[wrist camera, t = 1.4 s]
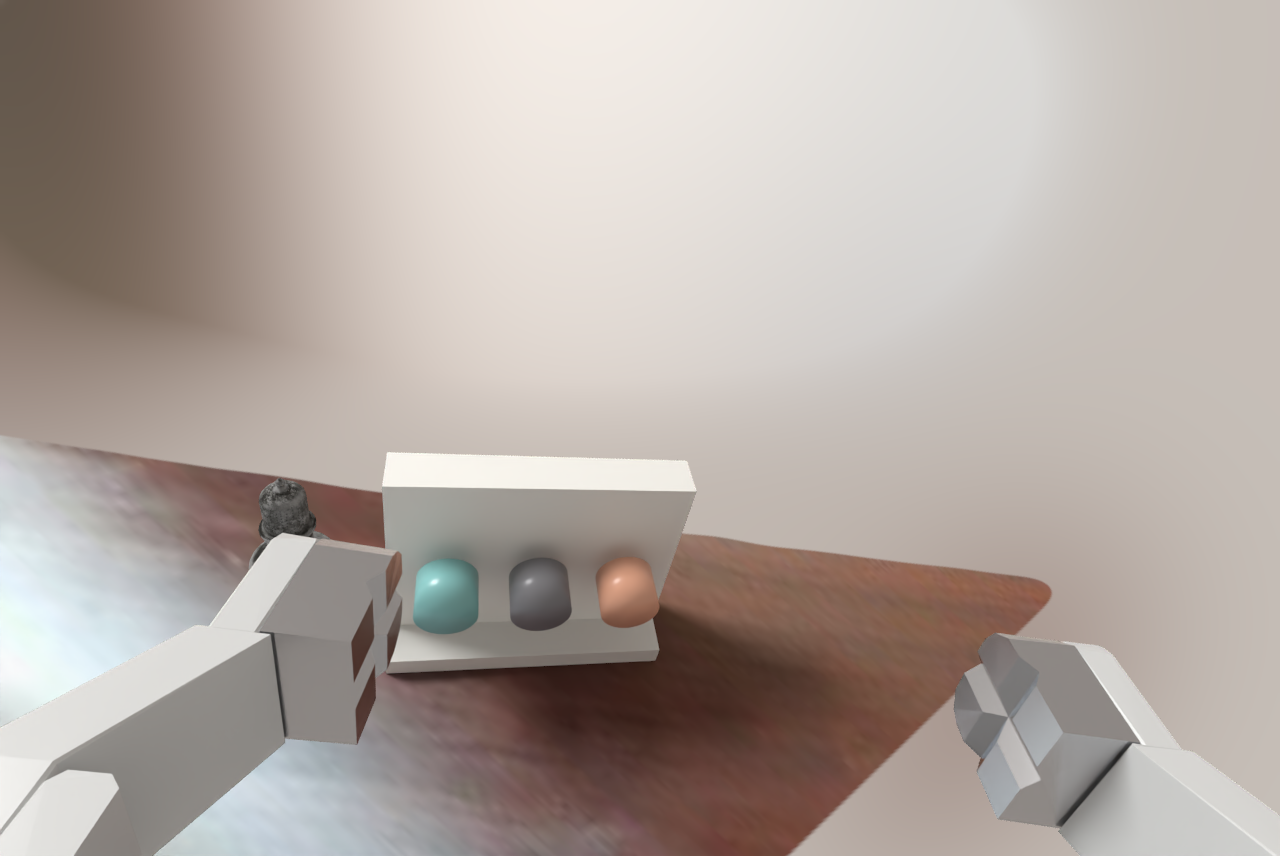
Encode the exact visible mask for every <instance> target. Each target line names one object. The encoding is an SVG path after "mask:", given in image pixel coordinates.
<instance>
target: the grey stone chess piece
mask: <svg viewBox="0 0 1280 856" xmlns="http://www.w3.org/2000/svg"><path fill="white" fill-rule="evenodd" d="M259 505H260V509H261V514H262V518H263V519H262V521H261V523H260V525H259V533H260V536H261V537H262V539H263V540H265V542H263V543H262V544H261V545H260V546H259V547H258V548H257V549H256V550H255V551H254V553H253V555H252V557H251V559H250V564H249V570H250V569H251V567H252V566H253V565H254V563H255V562H256V560H257V559H258V558H259V556H260V555H261V554H262V552H263V551H264V549H265V548H266V547H267V545H268V544H269V543H270V541H271V540H272V539H273V538H275V537H277V536H278V535H280V534H281V533H286V534H292V535H298V536H304V537H310V538H316V539H328V540H331V539H330V538H329V537H327V536H325V535H324V534H322V533H319V532H316V531H314V529H315V527H316V518H315V516H314V514H313V513H312V512H311V511H309V510H308V503H307V497H306V493H305V490H304V488H303V487H302V486H301V485H299V484H298V483H296V482H293V481H288V480H283V479H281V478H278V479H277V480H276V481H275V482H274V483H271V484H270V485H268V486H267V487H266V488H265V489H264V490H263V491H262V492H261V494H260V497H259Z"/></svg>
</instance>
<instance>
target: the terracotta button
mask: <svg viewBox="0 0 1280 856" xmlns="http://www.w3.org/2000/svg"><path fill="white" fill-rule="evenodd" d="M595 578H596V586H597V593H598V599H599V606H600V613H601V618H602V620H603V621H604V622H605V623H606V624H608V625H610V626H613V627H617V628H629V627H635V626H639V625H641V624H644V623H646V622H648V621H649V620H651V619H652V618H653V617H654V616H655V615H656V614H657V613H658V610H659V602H658V597H657V593H656V588H655V584H654V579H653V575H652V570H651V567H650V565H649V564H648V563H647V562H646V561H645V560H643V559H640V558H636V557H622V558H617V559H614V560H611V561H609V562H607V563H606V564H604V565H603V566H602V567H601V568H600V569H599V570H598V571H597V573H596V577H595Z"/></svg>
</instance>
